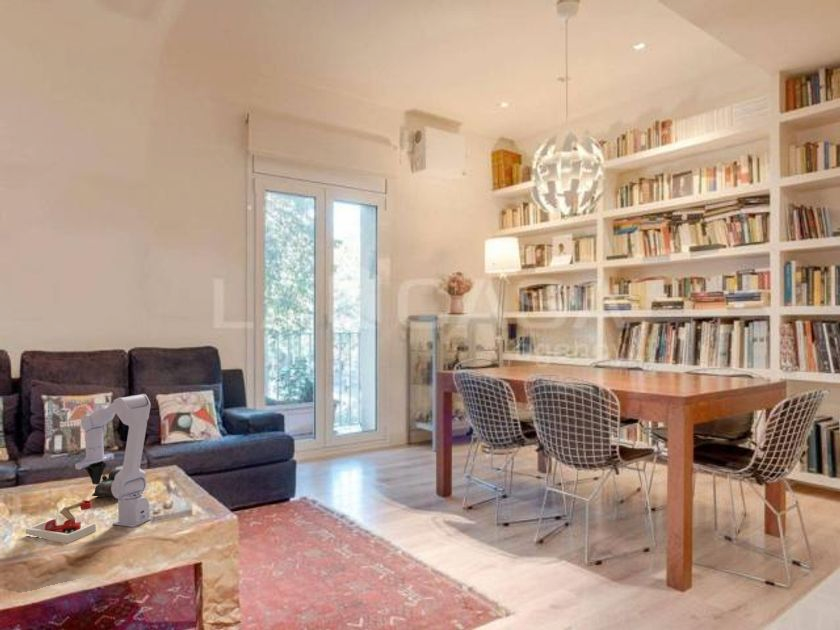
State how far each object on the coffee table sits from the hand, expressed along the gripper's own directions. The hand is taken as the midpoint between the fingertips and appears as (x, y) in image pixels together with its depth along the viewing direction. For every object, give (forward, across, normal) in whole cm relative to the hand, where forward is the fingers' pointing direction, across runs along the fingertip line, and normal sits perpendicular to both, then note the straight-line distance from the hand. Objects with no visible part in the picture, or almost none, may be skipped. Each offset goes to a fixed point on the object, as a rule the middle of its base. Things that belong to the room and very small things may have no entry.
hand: (96, 483), depth 213 cm
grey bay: (+10, +19, +6) cm, 22 cm away
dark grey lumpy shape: (+11, -15, -9) cm, 21 cm away
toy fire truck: (+11, +17, +7) cm, 21 cm away
